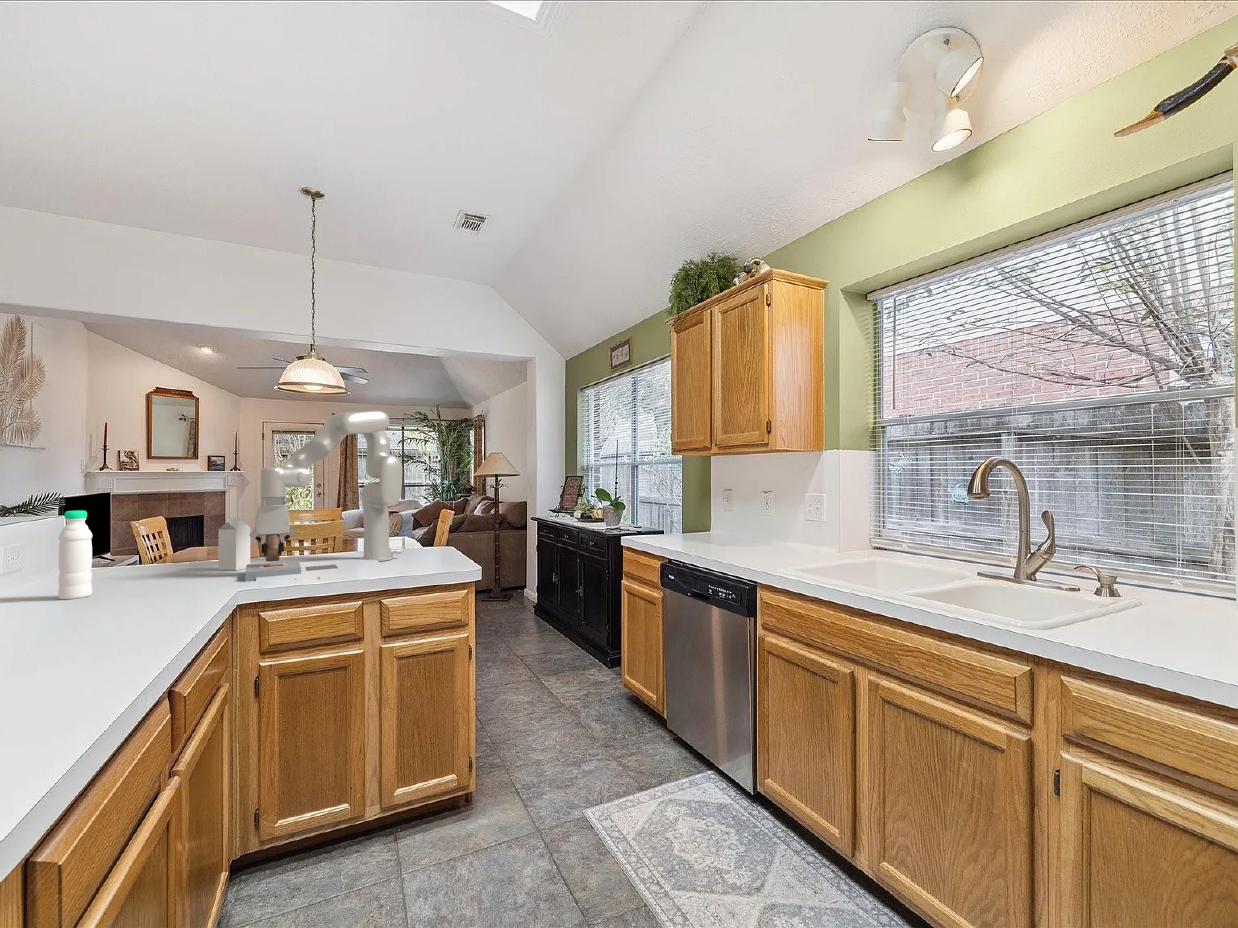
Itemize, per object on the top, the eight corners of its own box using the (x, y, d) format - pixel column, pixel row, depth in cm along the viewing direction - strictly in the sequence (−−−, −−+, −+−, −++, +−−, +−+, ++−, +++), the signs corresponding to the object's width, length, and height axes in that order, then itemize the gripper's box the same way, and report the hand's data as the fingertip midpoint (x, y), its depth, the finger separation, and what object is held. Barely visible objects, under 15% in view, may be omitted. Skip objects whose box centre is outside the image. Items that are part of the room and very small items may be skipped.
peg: (279, 559, 201) (279, 534, 202) (279, 560, 198) (279, 534, 198) (265, 560, 199) (266, 534, 200) (266, 561, 196) (266, 535, 196)
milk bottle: (97, 595, 166) (98, 510, 167) (68, 600, 160) (68, 511, 160) (82, 594, 169) (82, 509, 169) (52, 599, 162) (52, 511, 162)
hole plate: (298, 568, 212) (298, 559, 212) (301, 576, 195) (301, 566, 195) (246, 572, 203) (246, 563, 203) (245, 581, 186) (245, 571, 186)
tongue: (335, 567, 214) (335, 564, 214) (338, 570, 205) (338, 567, 205) (305, 569, 208) (305, 567, 208) (306, 573, 200) (306, 570, 200)
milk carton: (250, 567, 215) (250, 517, 215) (236, 570, 208) (236, 518, 208) (233, 567, 216) (233, 517, 216) (218, 570, 209) (218, 518, 209)
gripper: (299, 501, 207) (299, 551, 206) (244, 502, 198) (244, 555, 197) (301, 501, 200) (300, 554, 200) (244, 503, 192) (243, 557, 191)
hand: (272, 554), depth 199 cm, fingers closed on peg, 4 cm apart
